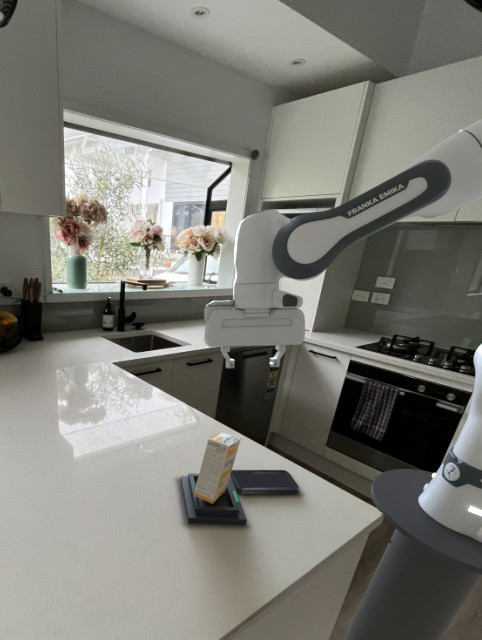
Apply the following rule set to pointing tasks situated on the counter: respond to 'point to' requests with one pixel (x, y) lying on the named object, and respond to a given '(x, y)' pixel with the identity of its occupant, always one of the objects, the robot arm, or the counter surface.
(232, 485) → the charging dock
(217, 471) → the supplement box
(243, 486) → the phone
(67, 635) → the counter surface
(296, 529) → the counter surface
